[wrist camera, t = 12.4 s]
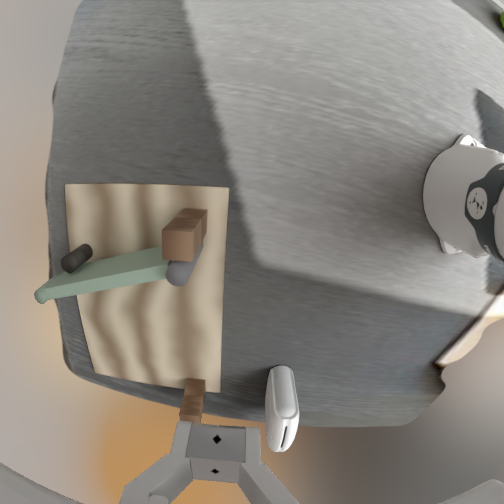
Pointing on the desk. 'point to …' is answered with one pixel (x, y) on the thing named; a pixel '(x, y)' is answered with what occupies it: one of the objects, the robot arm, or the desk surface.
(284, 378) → the photo printer
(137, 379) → the gate frame
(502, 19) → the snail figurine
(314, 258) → the desk surface
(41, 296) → the gate
